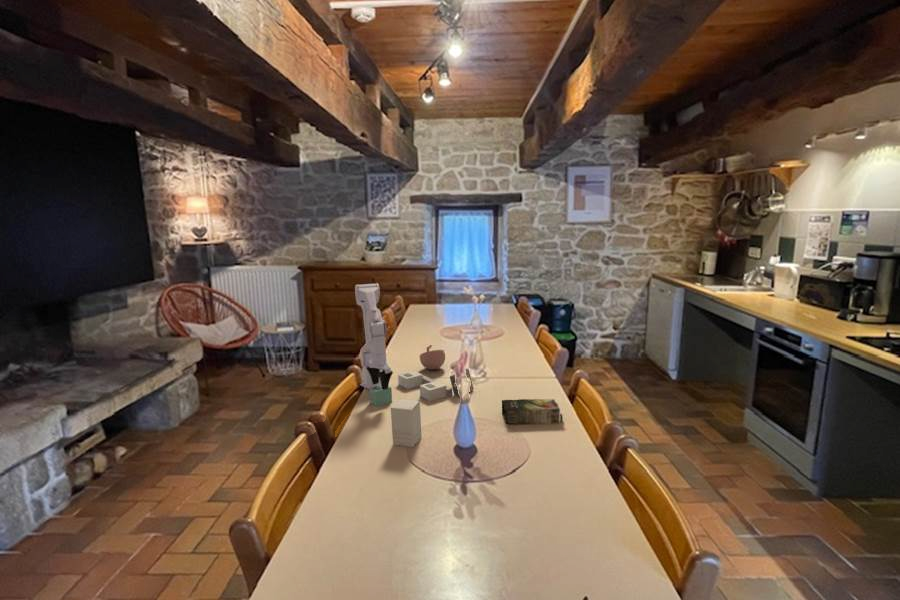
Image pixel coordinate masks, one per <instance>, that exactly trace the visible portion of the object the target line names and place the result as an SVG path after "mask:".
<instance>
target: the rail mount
mask: <svg viewBox="0 0 900 600" xmlns="http://www.w3.org/2000/svg"><path fill="white" fill-rule="evenodd" d="M397 380H398V381H397V382H398V386H400V387H402V388H405V389H406V390H409V389H413V388H416V387H419V396H420V397H421V398H423V399H425V400H426V401H428V402H432V401H435V400H439V399H442V398H445V397H447V398H449V397H452V396H453V388H452V387H450V386H448V385H446V384H444V383H442V382H441V381H440V382H439V381H437V380H435V379H433V378H431V377H428V376H425V375H424V374H422V373H420V372H419V371H418V372H417V371H415V370H411V371H407V372H404V373H403V372H402V373H399V374H397Z"/></svg>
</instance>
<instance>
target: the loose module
mask: <svg viewBox="0 0 900 600" xmlns="http://www.w3.org/2000/svg"><path fill="white" fill-rule="evenodd" d="M392 389H393V388H392V386H390V385H388V389H385V390H383V389H382V386H381V385H379V386H375V387H372V388H369V390H368V391H369V403H370V402H371V403H370V404H372V405H373V406H375V407H379V406H382V405H385V404H389V403H392V402H393V394H392V393H393V391H392Z"/></svg>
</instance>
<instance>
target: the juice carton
mask: <svg viewBox="0 0 900 600" xmlns="http://www.w3.org/2000/svg"><path fill="white" fill-rule="evenodd" d="M501 414H502V415H504V419H505V423H506V424H507V425H508V424H509V425H511V424H516V425H538V424H560V423H561V422H562V421H563V414H562V413H561V407H560V406H559V404H558V402H557V401H556V399H555V398H554V399H553V398H528V399H527V398H526V399H522V398H521V399H520V398H519V399H502V400H501Z"/></svg>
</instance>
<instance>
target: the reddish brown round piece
mask: <svg viewBox="0 0 900 600" xmlns="http://www.w3.org/2000/svg"><path fill="white" fill-rule="evenodd" d="M432 346H433V345H432V344H430V345H429V346H427V347H426V351H424V352H423V353H420V354H419V360H420V364H421V365H422V366H423V367H424V368H425V369H427V370H431V371H435V370H438V369H440V368H441V367H442V366H443V365H444V363H445V361H446V353H445V350H443V349H434V350H433V349H432V350H430V349H431V348H432Z"/></svg>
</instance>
